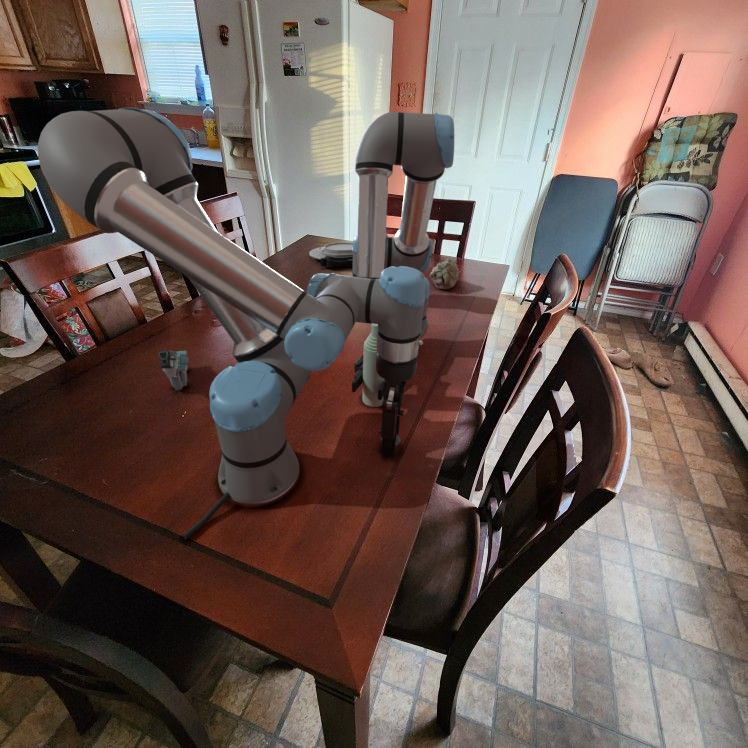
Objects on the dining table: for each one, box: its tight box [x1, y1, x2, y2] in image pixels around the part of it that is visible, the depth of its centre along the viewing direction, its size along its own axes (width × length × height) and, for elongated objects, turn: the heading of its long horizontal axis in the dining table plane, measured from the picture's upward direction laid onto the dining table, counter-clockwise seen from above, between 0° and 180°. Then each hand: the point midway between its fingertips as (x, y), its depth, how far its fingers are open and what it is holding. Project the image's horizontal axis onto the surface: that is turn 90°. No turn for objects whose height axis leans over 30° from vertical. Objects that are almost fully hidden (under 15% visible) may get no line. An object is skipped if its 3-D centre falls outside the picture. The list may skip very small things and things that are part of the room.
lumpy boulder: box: [429, 258, 460, 290], centre depth 162 cm, size 11×11×15 cm
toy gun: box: [157, 349, 190, 391], centre depth 100 cm, size 4×19×10 cm
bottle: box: [361, 323, 385, 408], centre depth 96 cm, size 6×6×21 cm
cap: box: [380, 434, 401, 453], centre depth 87 cm, size 4×4×2 cm
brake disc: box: [308, 242, 353, 268], centre depth 184 cm, size 32×30×5 cm
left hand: (389, 446), depth 88 cm, fingers closed on cap, 4 cm apart
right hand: (366, 391), depth 95 cm, fingers closed on bottle, 6 cm apart
